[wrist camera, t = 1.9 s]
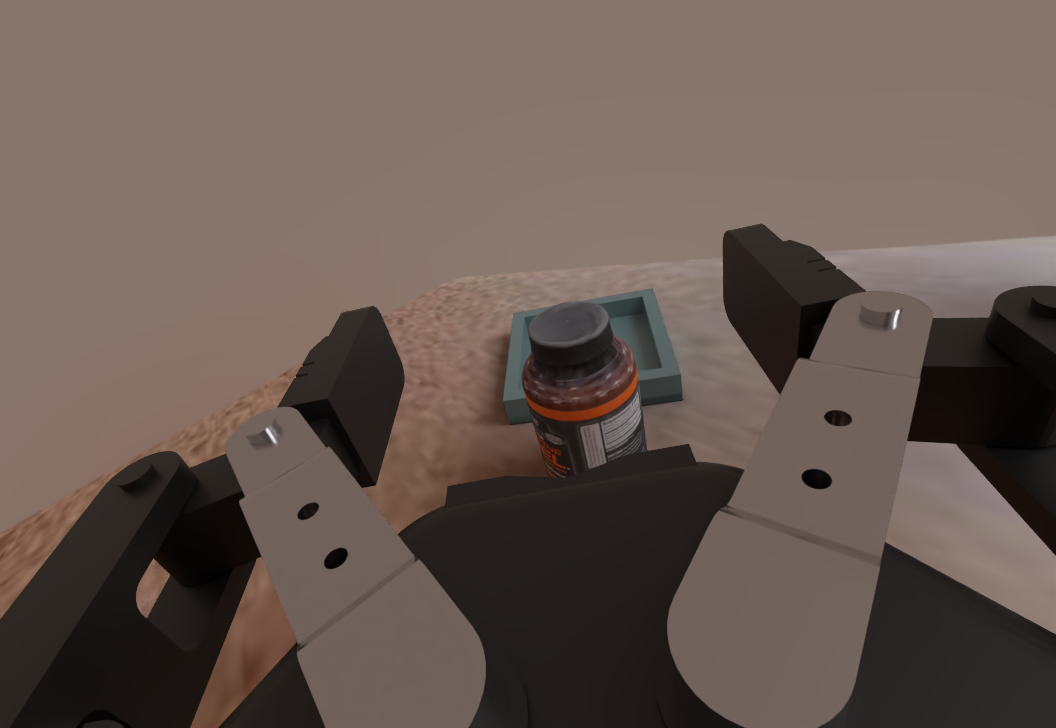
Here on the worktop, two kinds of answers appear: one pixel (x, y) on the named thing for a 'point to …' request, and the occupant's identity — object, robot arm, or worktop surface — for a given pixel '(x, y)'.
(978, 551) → the worktop surface
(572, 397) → the supplement bottle
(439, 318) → the worktop surface
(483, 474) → the worktop surface
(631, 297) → the tray
